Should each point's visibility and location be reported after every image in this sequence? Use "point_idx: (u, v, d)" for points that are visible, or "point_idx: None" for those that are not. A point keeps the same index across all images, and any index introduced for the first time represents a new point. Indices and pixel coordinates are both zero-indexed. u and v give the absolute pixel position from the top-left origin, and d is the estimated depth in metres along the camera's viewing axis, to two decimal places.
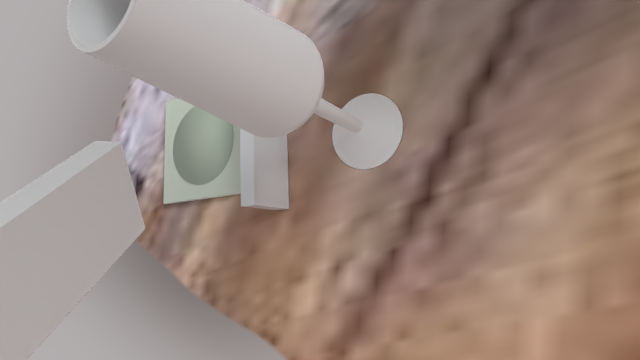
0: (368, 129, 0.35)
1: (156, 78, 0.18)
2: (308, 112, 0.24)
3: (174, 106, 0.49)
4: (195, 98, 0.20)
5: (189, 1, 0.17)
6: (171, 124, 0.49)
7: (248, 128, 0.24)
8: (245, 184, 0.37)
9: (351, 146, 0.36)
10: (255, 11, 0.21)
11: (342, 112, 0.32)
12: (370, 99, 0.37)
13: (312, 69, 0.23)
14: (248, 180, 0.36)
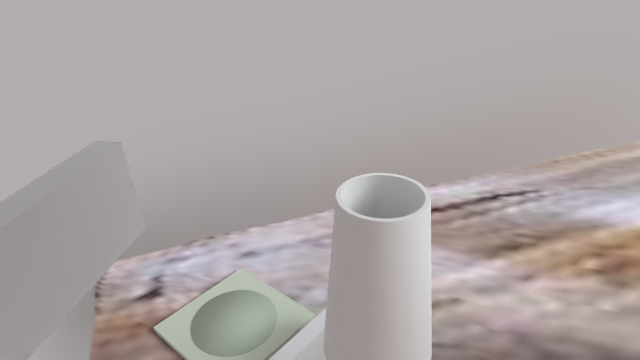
0: None
1: (351, 261, 0.21)
2: None
3: (244, 277, 0.51)
4: (348, 297, 0.22)
5: (422, 249, 0.21)
6: (228, 284, 0.50)
7: (338, 353, 0.24)
8: None
9: None
10: None
11: None
12: None
13: None
14: None
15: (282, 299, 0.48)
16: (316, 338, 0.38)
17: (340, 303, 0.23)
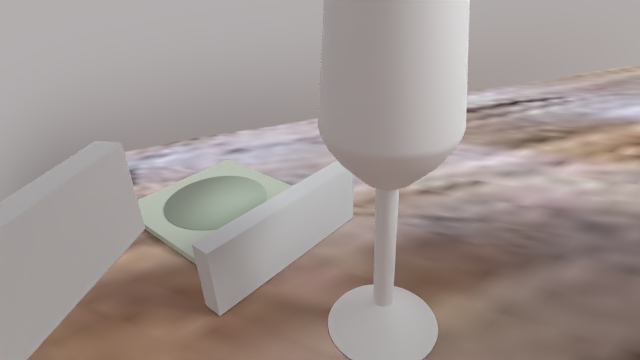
0: (392, 314, 0.25)
1: None
2: (408, 153, 0.17)
3: (229, 166, 0.44)
4: None
5: None
6: (210, 172, 0.43)
7: (337, 103, 0.17)
8: (221, 233, 0.27)
9: (356, 315, 0.25)
10: None
11: (394, 256, 0.23)
12: (415, 298, 0.27)
13: (454, 122, 0.17)
14: (228, 232, 0.27)
15: (273, 182, 0.41)
16: (311, 192, 0.31)
17: (340, 7, 0.16)
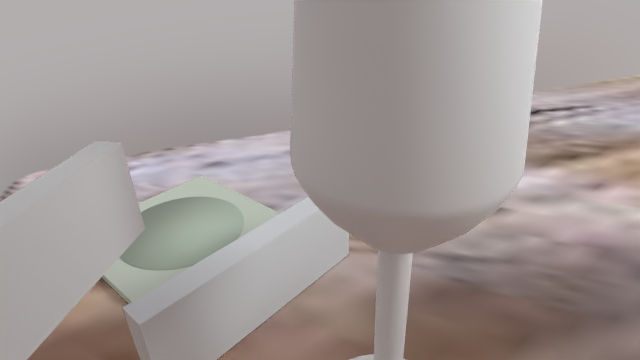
0: None
1: None
2: (436, 210, 0.10)
3: (204, 184, 0.37)
4: None
5: None
6: (180, 191, 0.36)
7: (316, 122, 0.10)
8: (166, 290, 0.19)
9: None
10: None
11: (403, 337, 0.16)
12: None
13: (513, 158, 0.10)
14: (176, 289, 0.19)
15: (253, 206, 0.34)
16: (294, 229, 0.24)
17: None
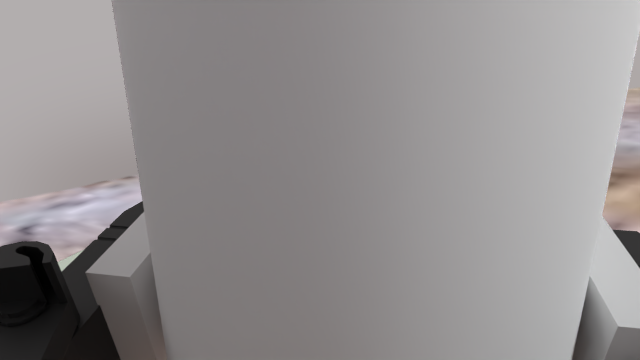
0: None
1: None
2: None
3: None
4: None
5: None
6: None
7: (171, 312, 0.05)
8: None
9: None
10: None
11: None
12: None
13: None
14: None
15: None
16: None
17: None
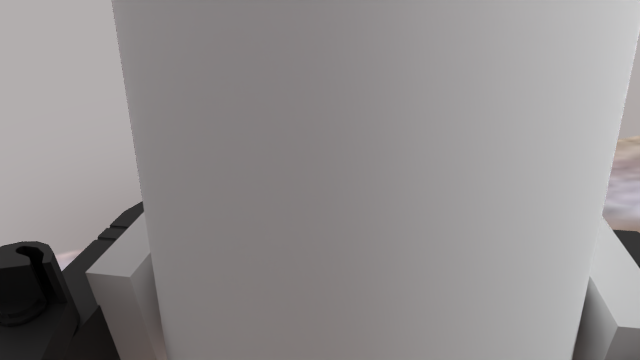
0: None
1: None
2: None
3: None
4: None
5: None
6: None
7: (171, 314, 0.05)
8: None
9: None
10: None
11: None
12: None
13: None
14: None
15: None
16: None
17: None
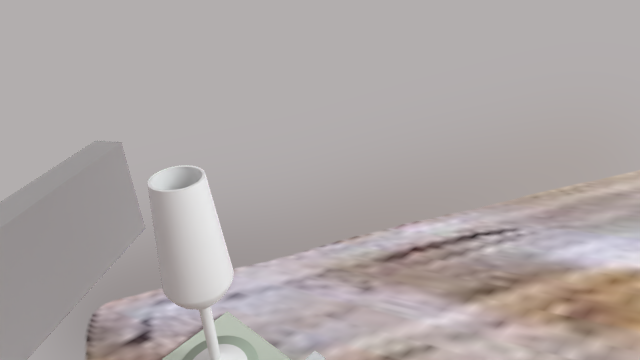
0: None
1: (155, 217, 0.36)
2: (191, 302, 0.39)
3: (229, 321, 0.54)
4: (158, 239, 0.37)
5: (196, 209, 0.36)
6: None
7: (162, 278, 0.39)
8: None
9: None
10: (219, 240, 0.39)
11: (214, 336, 0.45)
12: (239, 354, 0.49)
13: (214, 287, 0.39)
14: None
15: (264, 346, 0.50)
16: None
17: (157, 244, 0.37)
